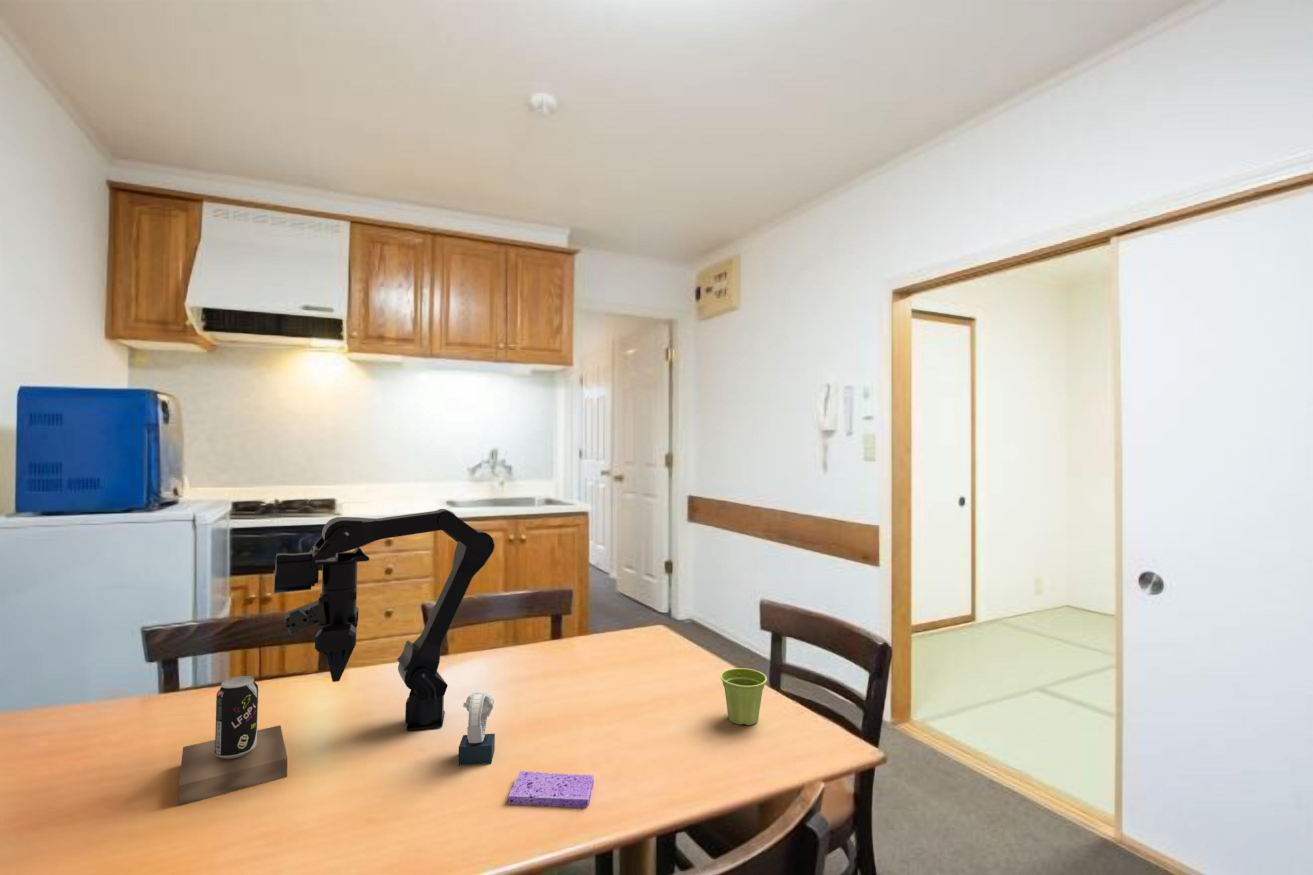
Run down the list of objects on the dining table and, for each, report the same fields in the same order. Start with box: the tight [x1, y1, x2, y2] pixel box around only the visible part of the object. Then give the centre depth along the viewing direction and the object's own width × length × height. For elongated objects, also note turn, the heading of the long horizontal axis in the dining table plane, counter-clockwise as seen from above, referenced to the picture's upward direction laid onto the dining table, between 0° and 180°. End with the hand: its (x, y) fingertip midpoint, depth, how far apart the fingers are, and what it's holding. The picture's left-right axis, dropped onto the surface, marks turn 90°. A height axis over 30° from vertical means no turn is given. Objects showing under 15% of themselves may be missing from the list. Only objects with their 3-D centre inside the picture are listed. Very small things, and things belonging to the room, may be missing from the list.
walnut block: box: [177, 724, 288, 807], centre depth 100 cm, size 14×14×3 cm
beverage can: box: [214, 675, 259, 759], centre depth 100 cm, size 6×6×12 cm
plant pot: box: [719, 667, 768, 726], centre depth 122 cm, size 9×9×9 cm
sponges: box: [508, 770, 595, 809], centre depth 95 cm, size 7×13×2 cm, turn 88°
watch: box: [457, 691, 496, 766], centre depth 105 cm, size 6×8×11 cm
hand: (337, 672), depth 109 cm, fingers open, 9 cm apart
